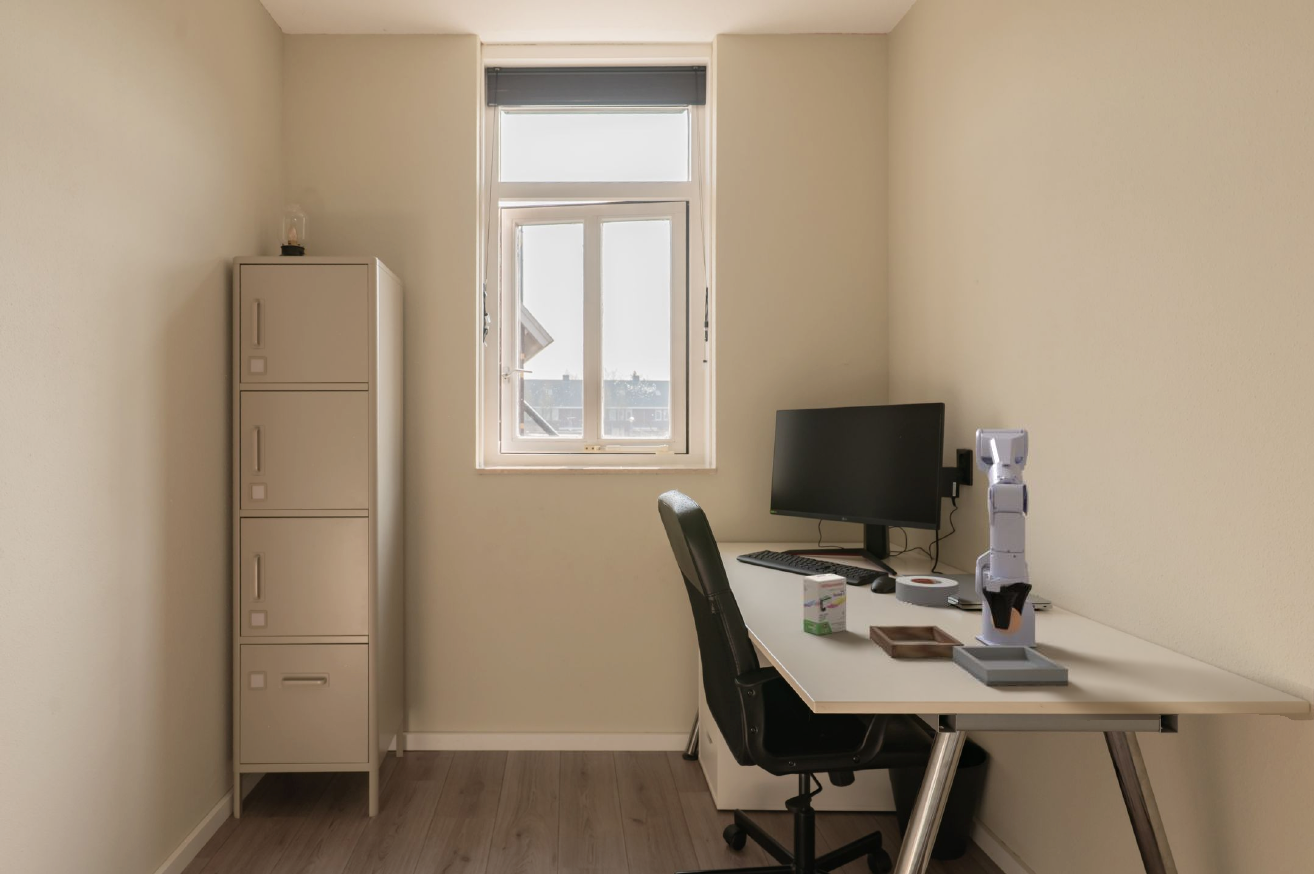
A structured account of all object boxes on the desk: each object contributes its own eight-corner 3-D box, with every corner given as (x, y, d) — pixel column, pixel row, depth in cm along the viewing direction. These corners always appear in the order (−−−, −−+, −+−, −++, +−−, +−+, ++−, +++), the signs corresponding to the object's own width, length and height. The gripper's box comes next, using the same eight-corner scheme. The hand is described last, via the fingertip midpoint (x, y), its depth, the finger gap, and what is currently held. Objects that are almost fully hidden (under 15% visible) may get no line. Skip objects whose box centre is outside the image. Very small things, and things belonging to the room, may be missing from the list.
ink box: (818, 635, 159) (818, 580, 159) (802, 630, 163) (802, 576, 163) (847, 630, 163) (847, 576, 163) (831, 625, 168) (831, 572, 168)
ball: (1014, 629, 137) (1014, 602, 137) (1026, 637, 132) (1026, 609, 132) (986, 629, 137) (986, 602, 137) (998, 637, 132) (998, 609, 132)
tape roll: (886, 594, 200) (886, 575, 200) (940, 593, 202) (940, 574, 202) (911, 608, 185) (911, 587, 185) (970, 606, 187) (970, 586, 187)
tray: (1026, 660, 142) (1026, 645, 142) (1067, 685, 128) (1068, 669, 128) (952, 660, 142) (952, 645, 142) (986, 685, 128) (986, 669, 128)
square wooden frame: (935, 637, 158) (935, 625, 158) (964, 657, 144) (964, 644, 144) (869, 637, 157) (869, 625, 157) (891, 657, 143) (891, 644, 143)
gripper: (999, 543, 143) (999, 614, 143) (969, 552, 132) (968, 629, 132) (1039, 547, 138) (1038, 621, 138) (1010, 557, 127) (1010, 636, 127)
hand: (1007, 625), depth 135 cm, fingers closed on ball, 5 cm apart
